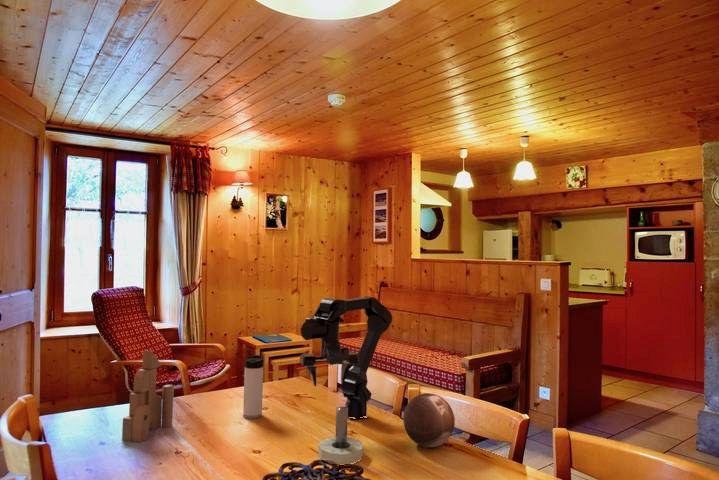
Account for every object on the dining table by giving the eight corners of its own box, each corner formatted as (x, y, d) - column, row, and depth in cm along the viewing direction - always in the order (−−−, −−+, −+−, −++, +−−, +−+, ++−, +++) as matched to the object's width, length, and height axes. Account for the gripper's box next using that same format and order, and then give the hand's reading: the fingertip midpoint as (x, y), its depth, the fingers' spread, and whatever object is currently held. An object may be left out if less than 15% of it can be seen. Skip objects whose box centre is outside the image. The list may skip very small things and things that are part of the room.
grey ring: (354, 445, 141) (354, 435, 141) (368, 462, 130) (369, 451, 130) (314, 450, 137) (314, 439, 137) (325, 467, 126) (326, 456, 126)
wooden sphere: (436, 460, 132) (437, 405, 132) (392, 445, 142) (393, 394, 142) (463, 445, 143) (464, 394, 144) (421, 432, 153) (422, 384, 153)
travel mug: (264, 413, 168) (266, 355, 168) (258, 419, 161) (260, 359, 162) (247, 412, 168) (248, 354, 169) (240, 418, 162) (242, 358, 162)
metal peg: (341, 452, 136) (342, 405, 136) (349, 456, 133) (350, 408, 134) (332, 455, 133) (334, 408, 134) (340, 459, 131) (341, 411, 132)
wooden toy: (141, 443, 139) (144, 355, 140) (121, 440, 141) (125, 353, 142) (174, 425, 154) (177, 346, 155) (156, 422, 156) (159, 344, 157)
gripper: (308, 342, 147) (306, 394, 147) (365, 340, 154) (364, 390, 153) (300, 336, 158) (298, 384, 157) (354, 334, 164) (352, 381, 163)
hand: (328, 385), depth 157 cm, fingers open, 9 cm apart
